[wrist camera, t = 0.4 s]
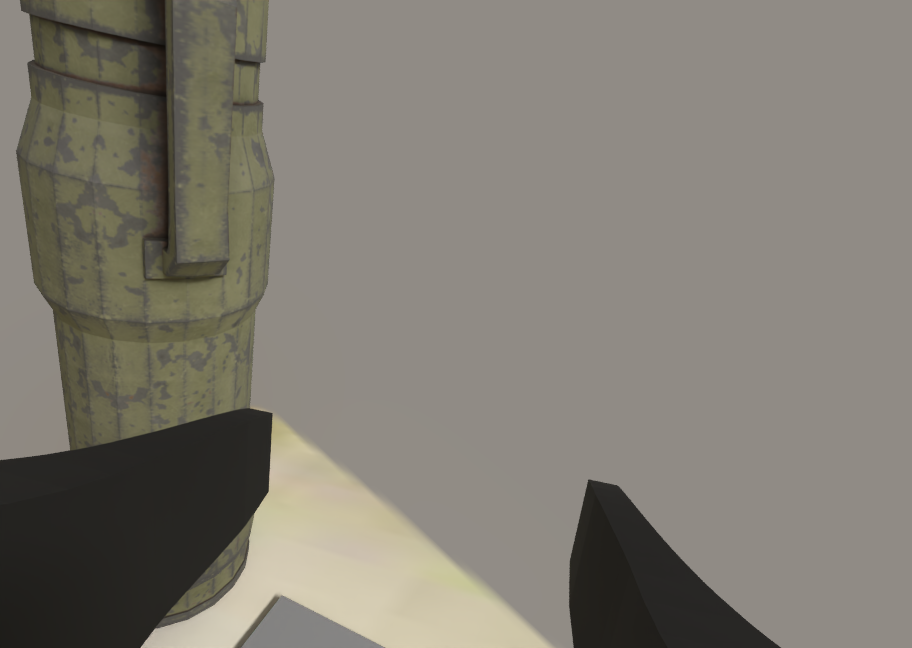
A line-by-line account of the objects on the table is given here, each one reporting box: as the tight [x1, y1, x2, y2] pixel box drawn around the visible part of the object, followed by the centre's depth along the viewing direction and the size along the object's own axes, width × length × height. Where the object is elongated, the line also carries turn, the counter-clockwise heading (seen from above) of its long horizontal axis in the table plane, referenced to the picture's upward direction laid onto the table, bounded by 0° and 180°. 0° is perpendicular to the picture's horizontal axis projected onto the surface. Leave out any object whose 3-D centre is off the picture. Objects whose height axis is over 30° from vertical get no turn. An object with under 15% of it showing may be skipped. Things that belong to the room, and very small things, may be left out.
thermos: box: [16, 0, 274, 628], centre depth 23 cm, size 9×12×35 cm
